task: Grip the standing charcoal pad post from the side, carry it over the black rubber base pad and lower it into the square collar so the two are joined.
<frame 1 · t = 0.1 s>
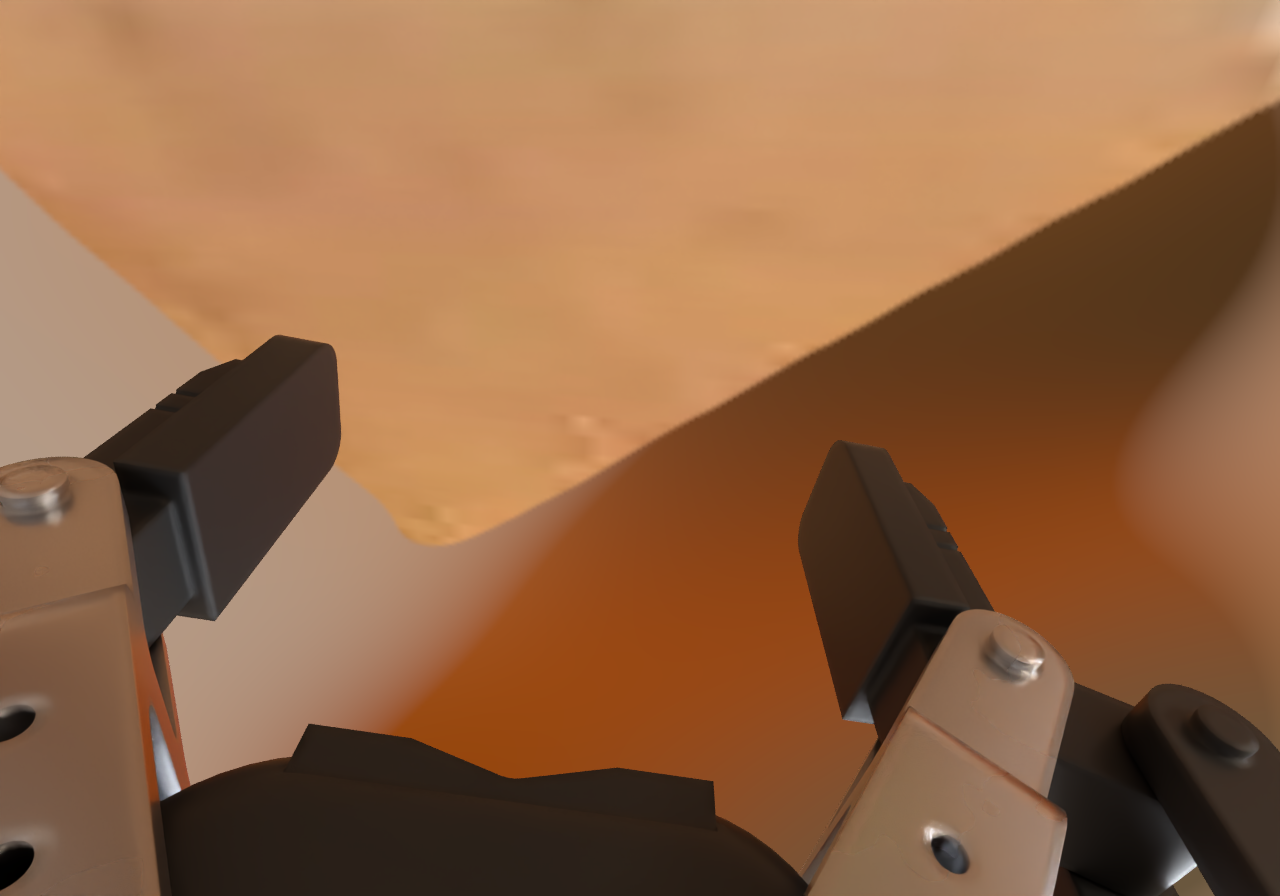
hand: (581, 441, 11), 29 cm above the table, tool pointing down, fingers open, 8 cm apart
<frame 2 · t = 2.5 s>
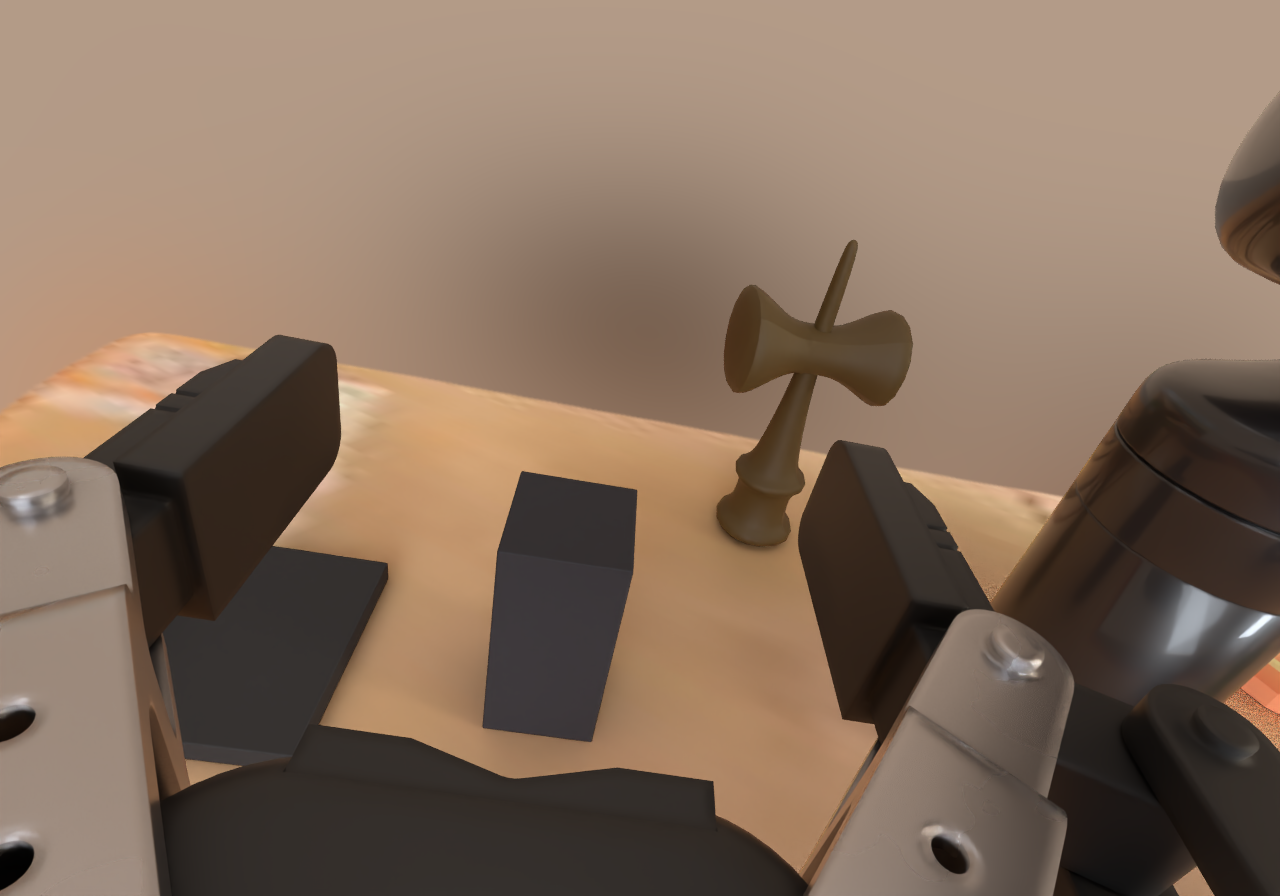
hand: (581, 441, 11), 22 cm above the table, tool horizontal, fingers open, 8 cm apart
base pad: (152, 634, 31), on the table
potted cactus: (1275, 675, 43), on the table
kendama: (749, 529, 45), on the table
pad post: (545, 688, 32), on the table
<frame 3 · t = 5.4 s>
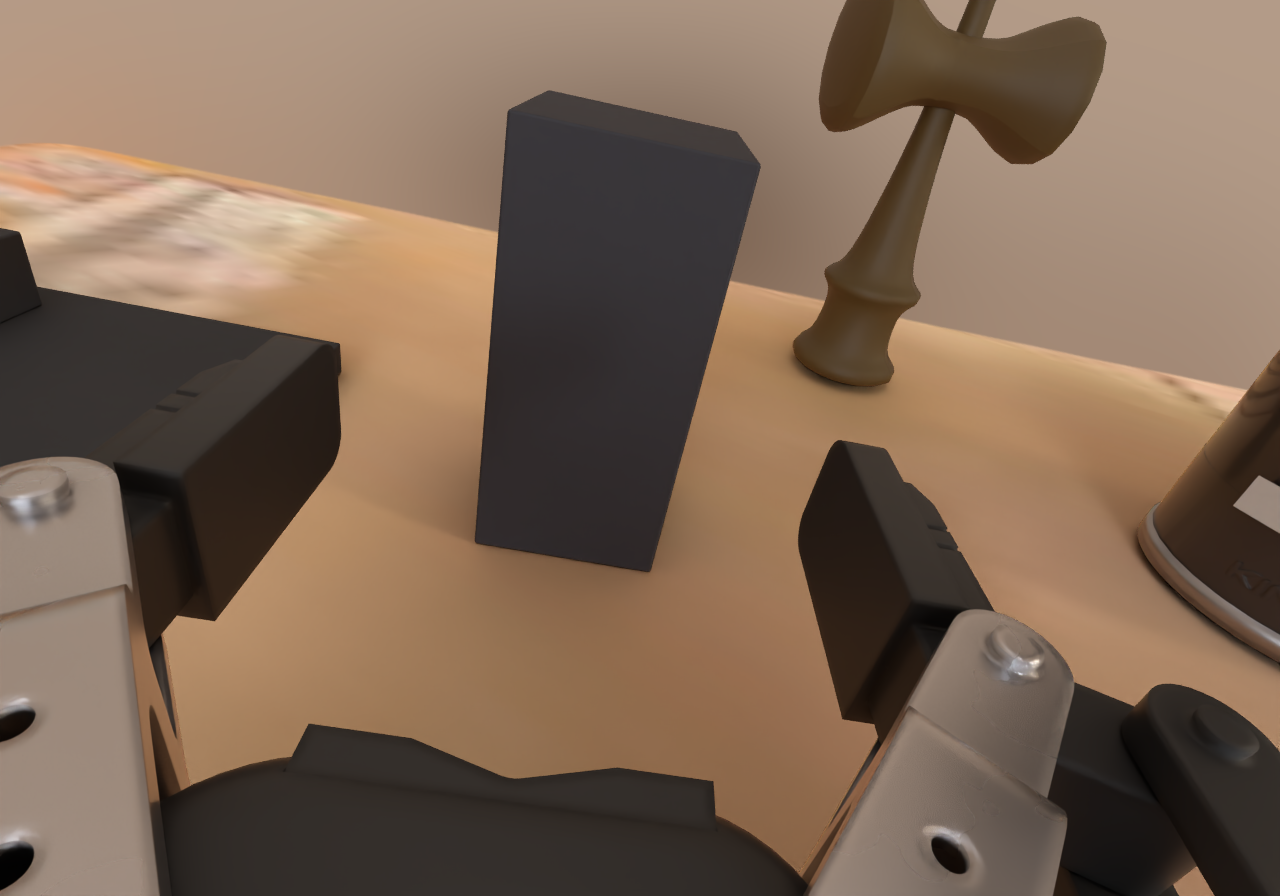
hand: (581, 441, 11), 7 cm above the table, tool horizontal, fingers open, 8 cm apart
kendama: (836, 374, 34), on the table
pad post: (573, 504, 21), on the table
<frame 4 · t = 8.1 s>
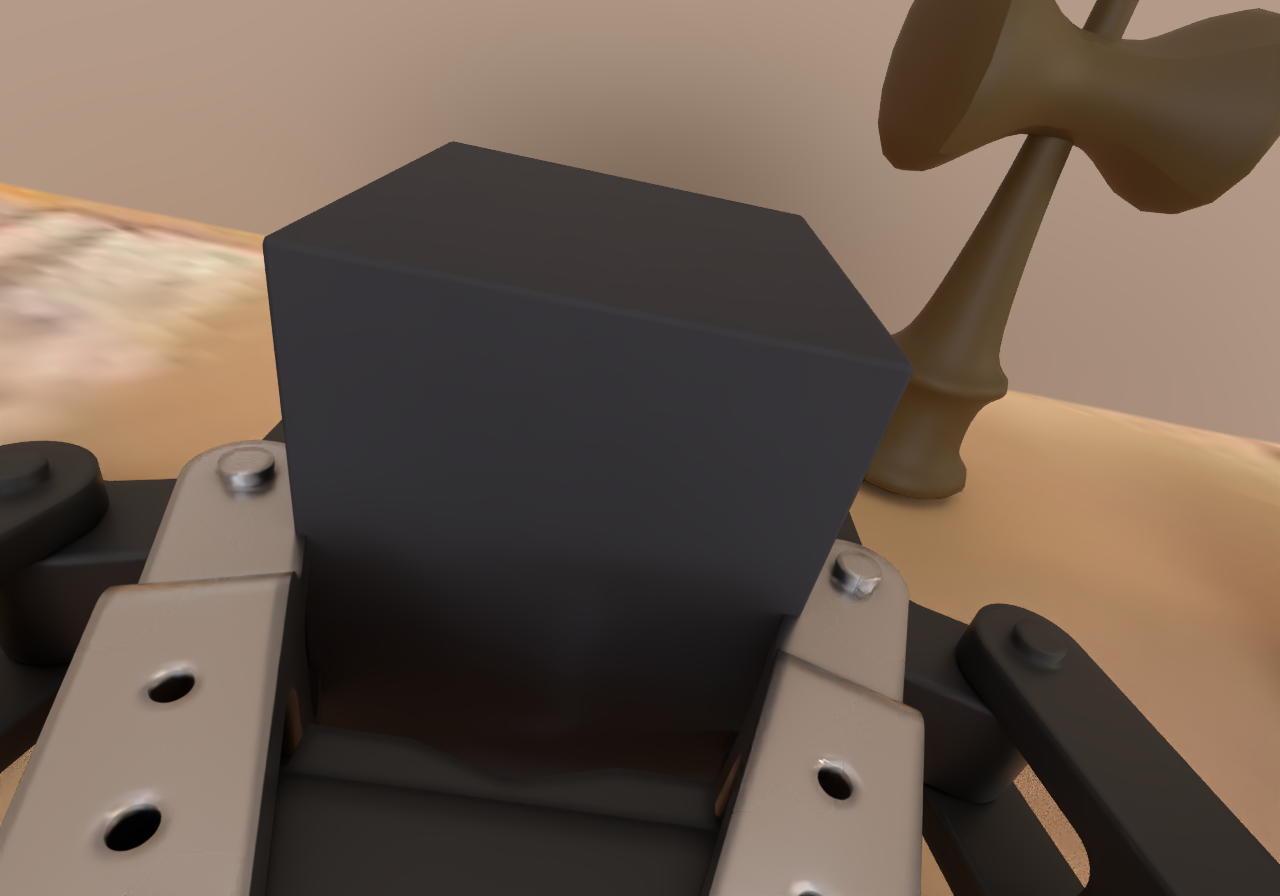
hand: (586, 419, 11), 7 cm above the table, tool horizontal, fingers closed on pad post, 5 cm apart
kendama: (888, 474, 26), on the table
pad post: (521, 790, 13), on the table, touching gripper
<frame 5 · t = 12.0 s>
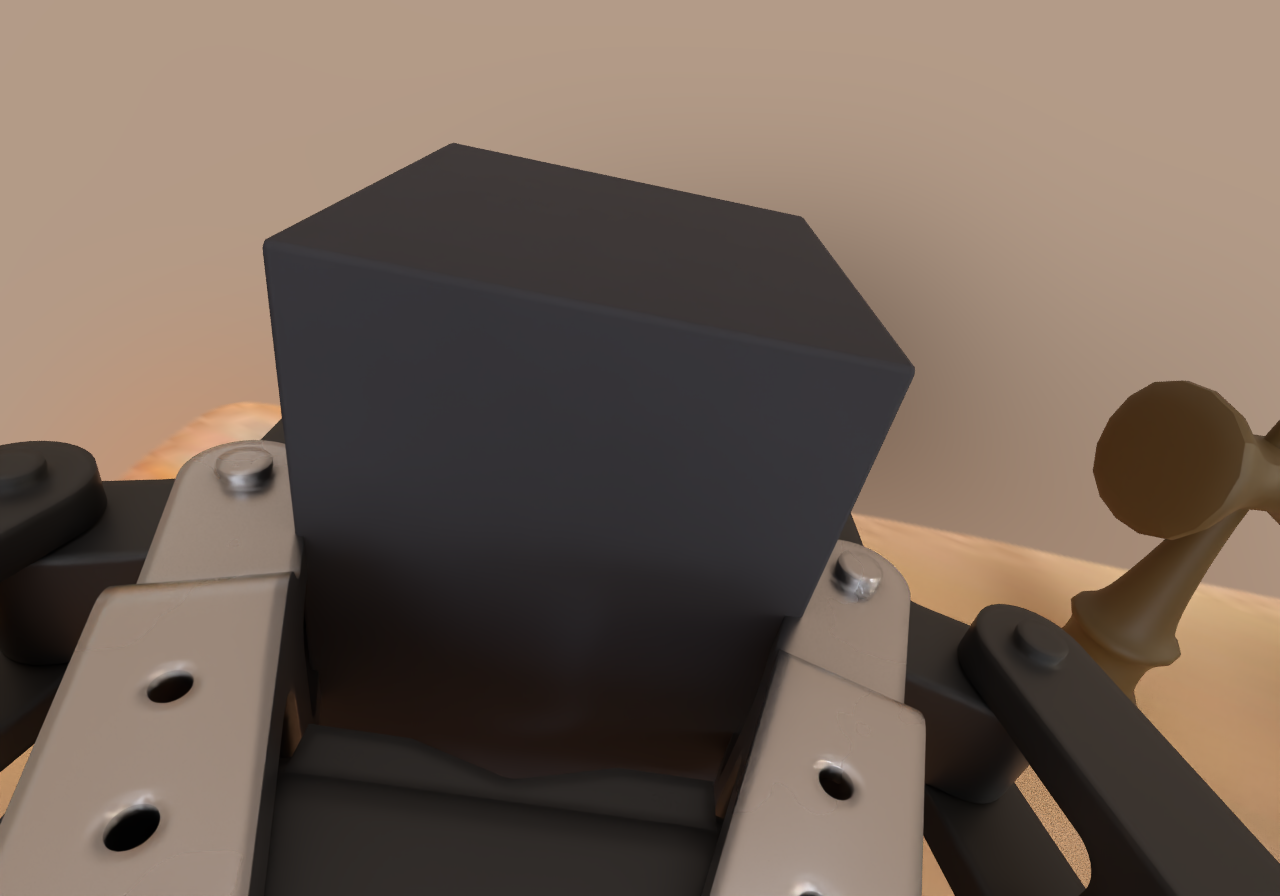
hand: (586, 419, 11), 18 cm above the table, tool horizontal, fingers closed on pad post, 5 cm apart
kendama: (1067, 691, 33), on the table
pad post: (522, 792, 13), point 11 cm above the table, touching gripper
when the fingers open (8 cm above the table, at t = 16.3 s): pad post stays where it is, resting on base pad.
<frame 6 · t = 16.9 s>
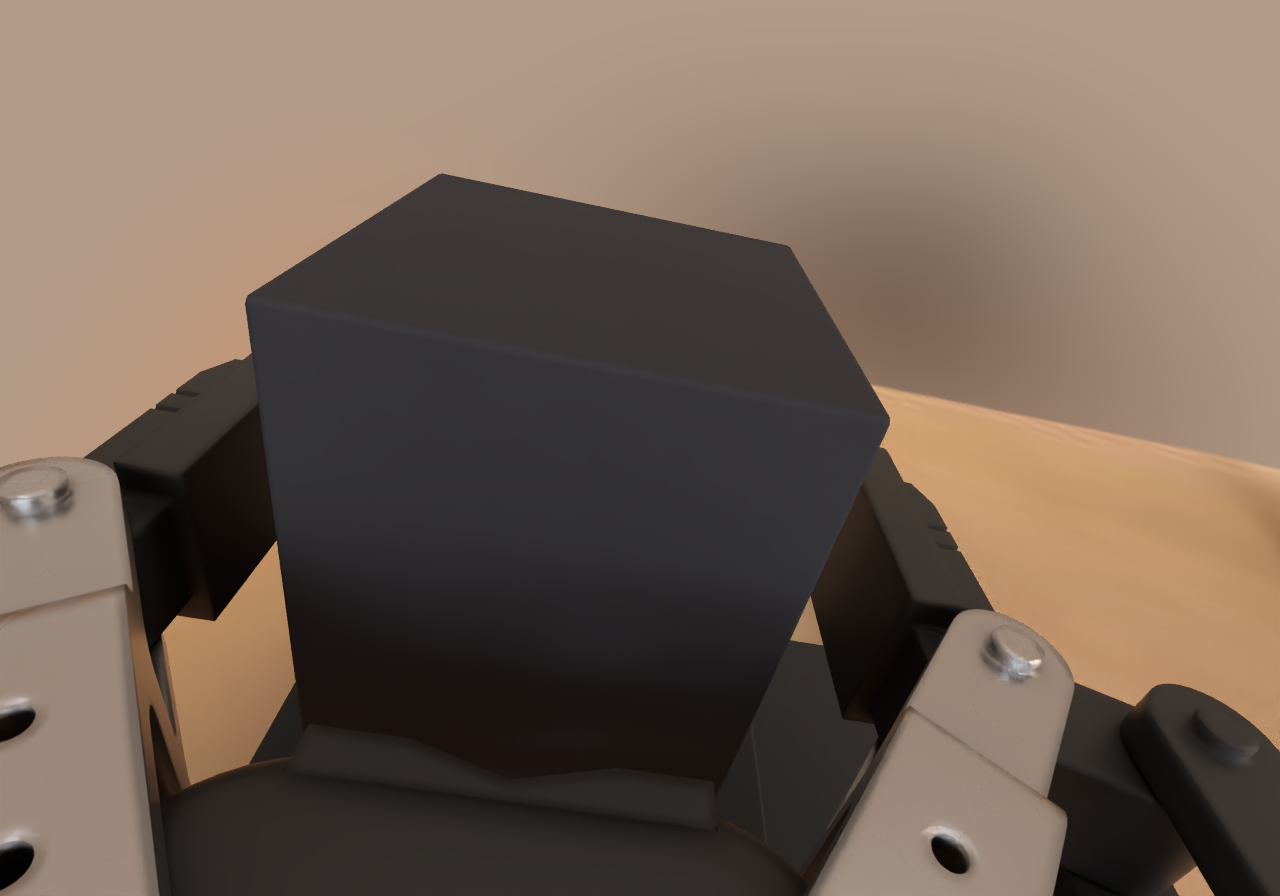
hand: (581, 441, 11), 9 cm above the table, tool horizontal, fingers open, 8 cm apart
base pad: (722, 863, 14), on the table
pad post: (513, 810, 13), point 1 cm above the table, touching base pad
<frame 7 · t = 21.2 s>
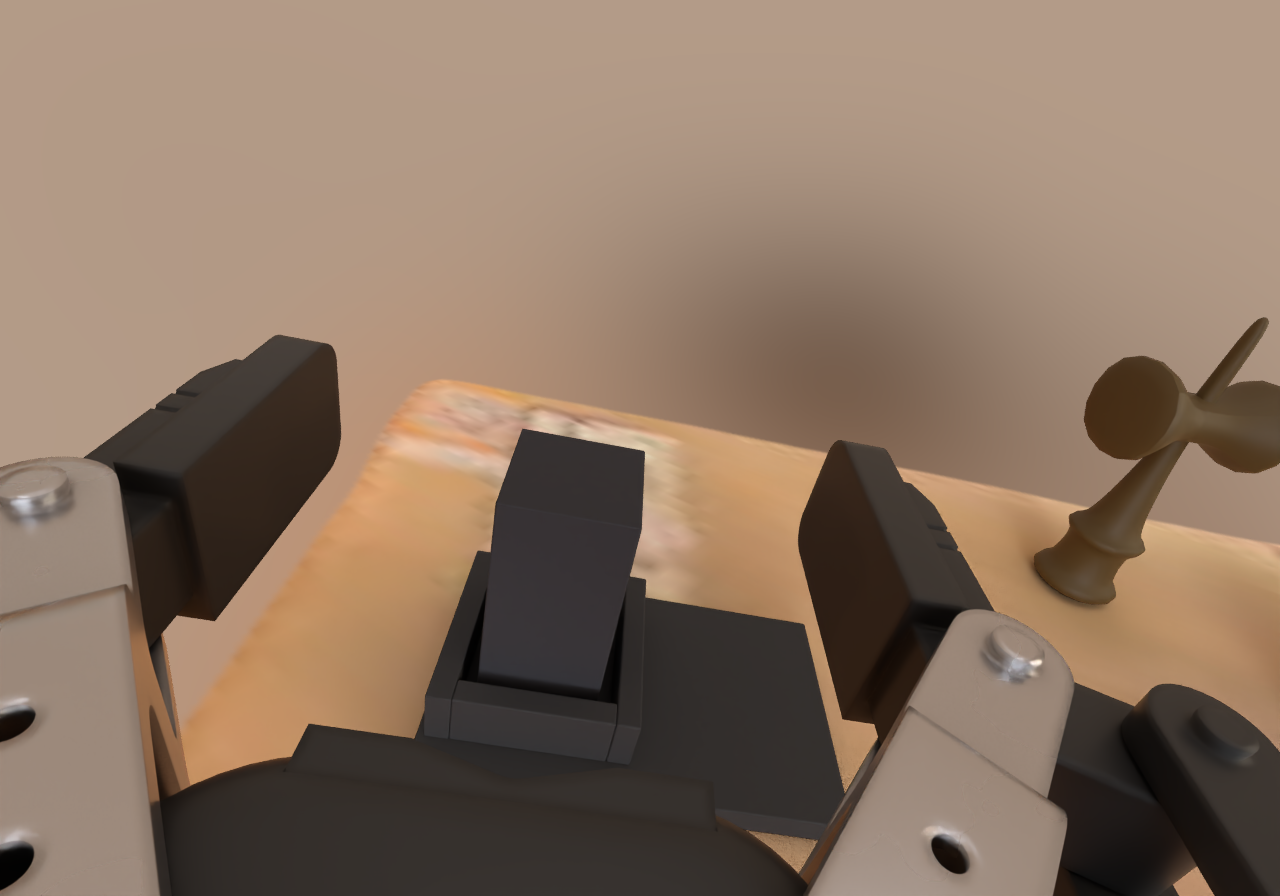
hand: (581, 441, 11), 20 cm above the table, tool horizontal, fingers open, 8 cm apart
base pad: (634, 698, 31), on the table
kendama: (1066, 585, 46), on the table
pad post: (542, 668, 30), point 1 cm above the table, touching base pad
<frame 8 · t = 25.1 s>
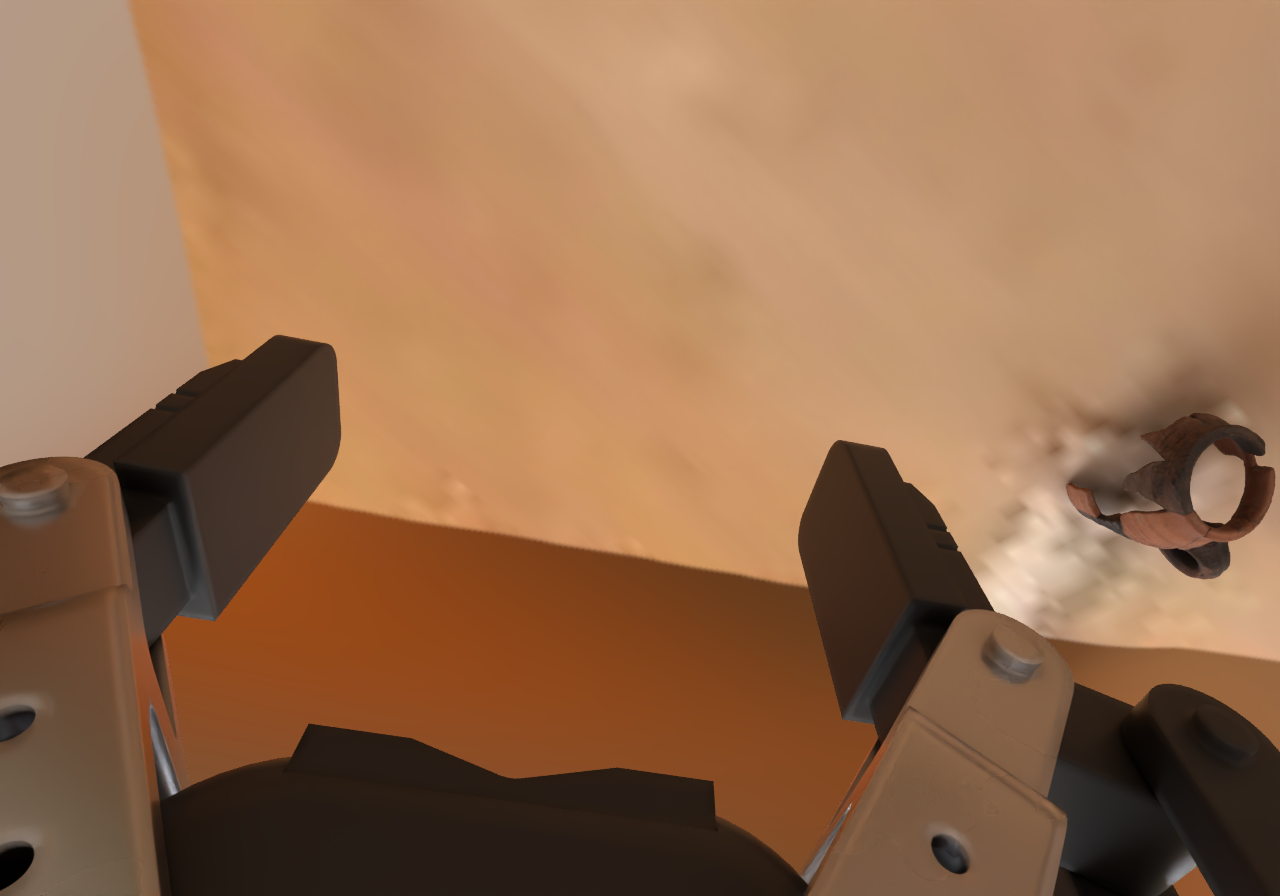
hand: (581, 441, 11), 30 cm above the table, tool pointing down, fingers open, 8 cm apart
brown curved piece: (1142, 472, 46), on the table
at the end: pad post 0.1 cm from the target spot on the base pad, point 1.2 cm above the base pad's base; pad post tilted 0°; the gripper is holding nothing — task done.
